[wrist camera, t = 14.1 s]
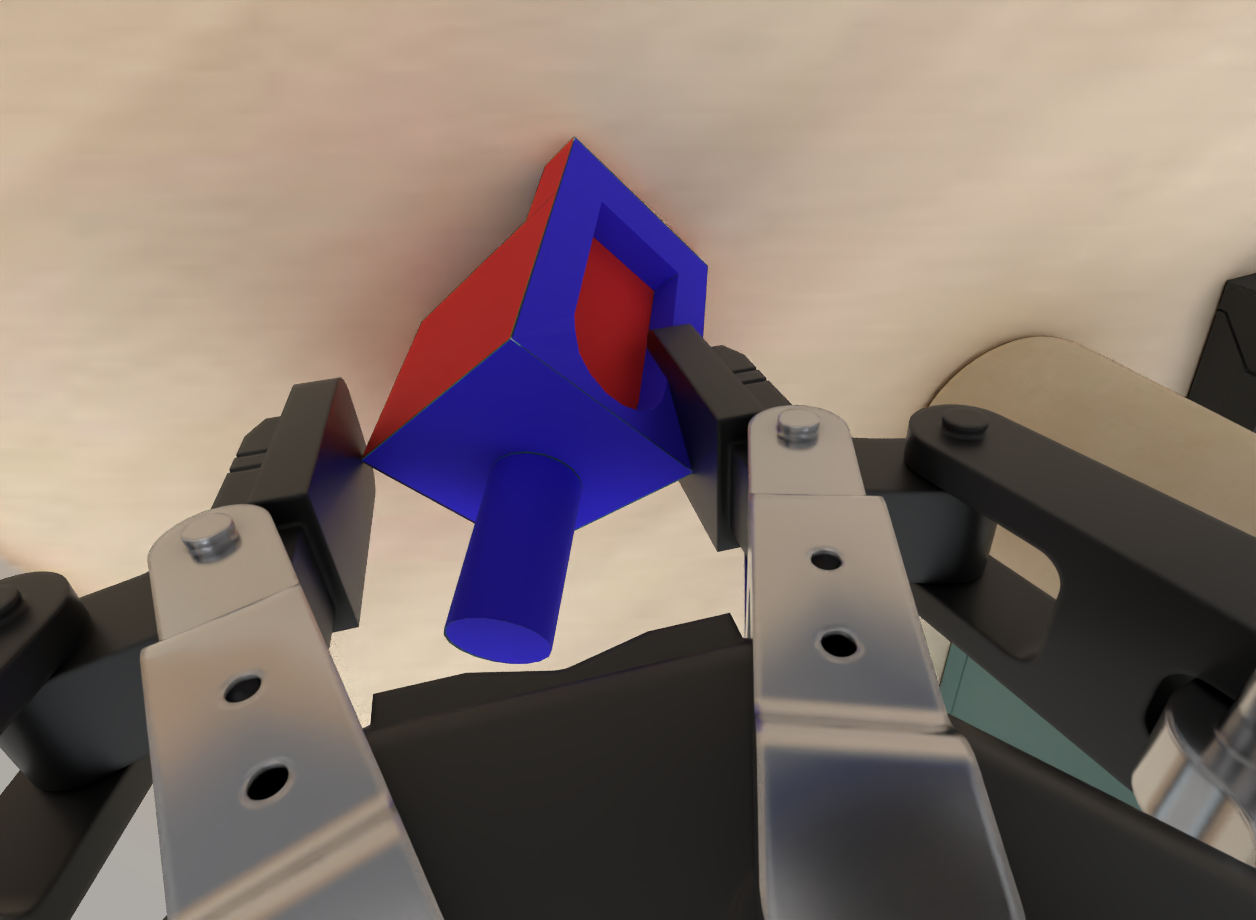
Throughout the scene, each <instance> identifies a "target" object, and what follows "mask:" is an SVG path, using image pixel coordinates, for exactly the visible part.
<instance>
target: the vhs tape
mask: <svg viewBox="0 0 1256 920" xmlns="http://www.w3.org/2000/svg"><path fill="white" fill-rule="evenodd" d="M1219 308H1220V309H1222V310H1220V311H1217V314H1216V317H1215V320H1214V323H1213V326H1212V329H1211V332H1210V335H1209V338H1208V340H1207V343H1206V346H1205V349H1204V352H1203V355H1202V358H1201V361H1200V364H1199V367H1198V370H1197V373H1196V376H1195V379H1194V382H1193V385H1192V388H1191V391H1190V394H1189V397H1188V399H1189V400H1191V401H1193V402H1195V403H1197V404H1199V405H1201V406H1203V407H1205V408H1207V409H1209V410H1211V411H1213V412H1215V413H1217V414H1219V415H1220V416H1222V417H1224V418H1226V419H1228V420H1230V421H1232V422H1234V423H1236V424H1238V425H1240V426H1242V427H1244V428H1246V429H1248V430H1250V431H1252V432H1254V433H1256V274H1253V275H1250V276H1246V277H1242V278H1238V279H1234V280H1230V281H1228V282H1227V284H1226V287H1225V290H1224V293H1223V296H1222V299H1221V302H1220V305H1219Z"/></svg>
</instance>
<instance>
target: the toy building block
mask: <svg viewBox="0 0 1256 920" xmlns="http://www.w3.org/2000/svg"><path fill="white" fill-rule="evenodd" d="M707 272H708V266H707V265H706V264H705V263H704V262H703V261H702V260H701V259H700V258H699V257H698V256H697V255H696V254H695V253H694V252H693V251H692V250H691V249H690V248H689V247H688V246H687V245H686V244H685V243H684V242H683V241H682V240H681V239H680V238H679V237H678V236H677V235H676V234H675V233H674V232H673V231H671V230H670V229H669V228H668V227H667V226H666V225H665V224H664V223H663V222H662V221H661V220H660V219H659V218H658V217H657V216H656V215H655V214H654V213H653V212H652V211H651V210H650V209H649V208H648V207H647V206H646V205H645V204H644V203H643V202H642V201H641V200H640V199H639V198H638V197H637V196H635V195H634V194H633V193H632V192H631V191H630V190H629V189H628V188H627V187H626V186H625V185H624V184H623V183H622V182H621V181H620V180H619V179H618V178H617V177H616V176H615V175H614V174H613V173H612V172H611V171H610V170H609V169H608V168H607V167H606V166H605V165H604V164H603V163H602V162H601V161H599V160H598V159H597V158H596V157H595V156H594V155H593V154H592V153H591V152H590V151H589V150H588V149H587V148H586V147H585V146H584V145H583V144H582V143H581V142H580V141H579V140H578V139H577V138H576V137H575V136H574V137H573V138H572V139H571V140H570V141H569V142H568V143H567V144H566V145H565V146H564V147H563V148H562V149H561V150H560V151H559V152H558V153H557V154H556V155H555V156H554V157H553V158H552V159H551V161H550V162H549V163H548V164H547V165H546V166H545V168H544V170H543V173H542V176H541V179H540V182H539V185H538V188H537V190H536V193H535V196H534V199H533V202H532V205H531V207H530V210H529V213H528V216H527V219H526V221H525V222H524V223H523V224H522V225H521V226H520V227H519V228H518V229H517V230H516V231H515V232H514V233H513V234H512V235H511V236H510V237H509V238H508V239H507V240H506V241H505V242H504V243H503V244H502V245H501V246H500V247H499V248H497V249H496V250H495V251H494V252H493V253H492V254H491V255H490V256H489V257H488V258H487V259H486V260H485V261H484V262H483V263H482V264H481V265H480V266H479V267H478V268H477V269H476V270H475V271H474V272H473V273H472V274H471V275H470V276H469V277H468V278H466V279H465V280H464V281H463V282H462V283H461V284H460V285H459V286H458V287H457V288H456V289H455V290H454V291H453V292H452V293H451V294H450V295H449V296H448V297H447V298H446V299H445V300H444V301H443V302H442V303H441V304H440V305H439V306H438V307H437V308H435V309H434V310H433V311H432V312H431V313H430V314H429V315H428V316H427V317H426V318H425V319H424V320H423V321H422V322H421V324H420V327H419V329H418V331H417V333H416V336H415V338H414V340H413V342H412V345H411V347H410V349H409V352H408V354H407V356H406V358H405V361H404V363H403V365H402V367H401V370H400V372H399V374H398V376H397V379H396V381H395V383H394V385H393V388H392V390H391V392H390V395H389V397H388V399H387V401H386V404H385V406H384V408H383V410H382V413H381V415H380V417H379V419H378V422H377V424H376V426H375V428H374V431H373V433H372V435H371V438H370V440H369V442H368V444H367V447H366V449H365V451H364V453H363V456H362V461H363V463H365V464H367V465H368V466H370V467H372V468H374V469H376V470H378V471H379V472H381V473H383V474H385V475H387V476H389V477H390V478H392V479H394V480H396V481H398V482H400V483H401V484H403V485H405V486H407V487H409V488H411V489H412V490H414V491H416V492H418V493H420V494H422V495H423V496H425V497H427V498H429V499H431V500H433V501H434V502H436V503H438V504H440V505H442V506H444V507H445V508H447V509H449V510H451V511H453V512H455V513H456V514H458V515H460V516H462V517H464V518H466V519H467V520H469V521H471V522H473V523H475V525H474V529H473V532H472V535H471V539H470V542H469V546H468V549H467V553H466V556H465V559H464V563H463V566H462V570H461V573H460V576H459V580H458V583H457V587H456V590H455V593H454V597H453V600H452V604H451V607H450V611H449V614H448V617H447V621H446V624H445V628H444V636H445V637H446V639H447V640H448V641H449V643H451V644H452V645H454V646H455V647H456V648H458V649H459V650H461V651H463V652H466V653H468V654H470V655H473V656H475V657H479V658H482V659H486V660H490V661H494V662H502V663H509V664H528V663H533V662H539V661H541V660H543V659H545V658H547V657H549V655H550V653H551V650H552V646H553V641H554V635H555V630H556V625H557V620H558V614H559V609H560V604H561V598H562V593H563V588H564V582H565V577H566V572H567V566H568V561H569V556H570V550H571V545H572V540H573V534H574V531H575V530H577V529H579V528H581V527H583V526H585V525H588V524H590V523H592V522H594V521H596V520H598V519H600V518H602V517H604V516H606V515H608V514H610V513H612V512H614V511H616V510H618V509H620V508H623V507H625V506H627V505H629V504H631V503H633V502H635V501H637V500H639V499H641V498H643V497H645V496H647V495H649V494H651V493H653V492H656V491H658V490H660V489H662V488H664V487H666V486H668V485H670V484H672V483H674V482H676V481H678V480H680V479H682V478H684V477H686V476H689V475H691V474H692V469H691V465H690V462H689V458H688V454H687V451H686V447H685V443H684V440H683V436H682V432H681V428H680V425H679V421H678V417H677V414H676V410H675V406H674V403H673V399H672V395H671V392H670V388H669V384H668V381H667V378H666V377H665V375H664V374H663V372H662V371H661V369H660V368H659V366H658V365H657V363H656V362H655V360H654V359H653V357H652V355H651V354H650V352H649V351H648V349H647V334H648V331H649V330H651V329H657V328H664V327H670V326H677V325H683V324H691V325H692V326H693V327H694V328H695V330H696V331H697V332H698V333H699V334H700V335H701V336H702V338H703V330H704V316H705V301H706V286H707Z"/></svg>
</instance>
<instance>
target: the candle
mask: <svg viewBox="0 0 1256 920" xmlns="http://www.w3.org/2000/svg"><path fill="white" fill-rule="evenodd" d="M943 404H958V405H968V406H974V407H978V408H983V409H986V410H989V411H992V412H995V413H997V414H999V415H1002V416H1004V417H1006V418H1008V419H1010V420H1012V421H1014V422H1016V423H1018V424H1020V425H1022V426H1025V427H1027V428H1029V429H1031V430H1033V431H1035V432H1037V433H1039V434H1041V435H1043V436H1045V437H1048V438H1050V439H1052V440H1054V441H1056V442H1058V443H1060V444H1062V445H1064V446H1066V447H1068V448H1070V449H1073V450H1075V451H1077V452H1079V453H1081V454H1083V455H1085V456H1087V457H1089V458H1091V459H1093V460H1096V461H1098V462H1100V463H1102V464H1104V465H1106V466H1108V467H1110V468H1112V469H1114V470H1116V471H1118V472H1121V473H1123V474H1125V475H1127V476H1129V477H1131V478H1133V479H1135V480H1137V481H1139V482H1141V483H1143V484H1146V485H1148V486H1150V487H1152V488H1154V489H1156V490H1158V491H1160V492H1162V493H1164V494H1166V495H1169V496H1171V497H1173V498H1175V499H1177V500H1179V501H1181V502H1183V503H1185V504H1187V505H1189V506H1191V507H1194V508H1196V509H1198V510H1200V511H1202V512H1204V513H1206V514H1208V515H1210V516H1212V517H1214V518H1217V519H1219V520H1221V521H1223V522H1225V523H1227V524H1229V525H1231V526H1233V527H1235V528H1237V529H1239V530H1242V531H1244V532H1246V533H1248V534H1250V535H1252V536H1254V537H1256V433H1254V432H1252V431H1250V430H1248V429H1246V428H1244V427H1242V426H1240V425H1238V424H1236V423H1234V422H1232V421H1230V420H1228V419H1226V418H1224V417H1222V416H1220V415H1219V414H1217V413H1215V412H1213V411H1211V410H1209V409H1207V408H1205V407H1203V406H1201V405H1199V404H1197V403H1195V402H1193V401H1191V400H1189V399H1187V398H1185V397H1183V396H1181V395H1179V394H1177V393H1175V392H1173V391H1171V390H1169V389H1168V388H1166V387H1164V386H1162V385H1160V384H1158V383H1156V382H1154V381H1152V380H1150V379H1148V378H1146V377H1144V376H1142V375H1140V374H1138V373H1136V372H1134V371H1132V370H1130V369H1128V368H1126V367H1124V366H1122V365H1120V364H1118V363H1117V362H1115V361H1113V360H1111V359H1109V358H1107V357H1105V356H1102V355H1100V354H1098V353H1096V352H1094V351H1092V350H1090V349H1088V348H1086V347H1084V346H1081V345H1079V344H1076V343H1074V342H1071V341H1067V340H1064V339H1060V338H1055V337H1044V336H1038V337H1029V338H1024V339H1019V340H1015V341H1012V342H1009V343H1007V344H1004V345H1001V346H999V347H997V348H995V349H993V350H991V351H989V352H987V353H985V354H983V355H982V356H980V357H979V358H977V359H975V360H974V361H972V362H971V363H970V364H968V365H967V366H966V367H964V368H963V369H962V370H961V371H960V372H958V373H957V374H956V375H955V376H954V377H953V378H952V379H951V380H950V381H949V382H948V383H947V384H946V385H945V386H944V387H943V388H942V389H941V390H940V392H939V393H938V394H937V396H936V397H935V398H934V399H933V401H932V402H931V403H930V405H929V407H930V406H935V405H943ZM989 555H991V556H992V557H994V558H995V559H997V560H998V561H1000V562H1001V563H1003V564H1004V565H1006V566H1007V567H1009V568H1010V569H1012V570H1013V571H1014V572H1016V573H1017V574H1019V575H1020V576H1022V577H1023V578H1025V579H1026V580H1028V581H1029V582H1031V583H1032V584H1034V585H1035V586H1037V587H1038V588H1040V589H1041V590H1043V591H1044V592H1046V593H1047V594H1049V595H1050V596H1052V597H1053V598H1055V599H1057V596H1058V594H1059V590H1060V579H1059V575H1058V572H1057V570H1056V568H1055V566H1054V565H1053V563H1052V562H1051V560H1050V559H1049V558H1048V557H1047V556H1046V555H1045V554H1044V553H1042V552H1041V551H1040V550H1038V549H1037V548H1035V547H1033V546H1032V545H1030V544H1029V543H1027V542H1025V541H1024V540H1022V539H1021V538H1019V537H1017V536H1016V535H1014V534H1013V533H1011V532H1009V531H1008V530H1006V529H1005V528H1003V527H1001V526H1000V525H998V524H997V528H996V531H995V535H994V539H993V542H992V546H991V550H990V553H989Z"/></svg>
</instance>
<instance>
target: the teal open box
mask: <svg viewBox="0 0 1256 920" xmlns="http://www.w3.org/2000/svg"><path fill="white" fill-rule="evenodd" d="M940 691H941V695H942V698H943V702H944V705H945V709H946V712H947V713H949V714H951V715H953V716H955V717H957V718H959V719H961V720H963V721H965V722H967V723H969V724H971V725H972V726H974V727H976V728H978V729H980V730H982V731H984V732H986V733H988V734H990V735H992V736H994V737H996V738H998V739H1000V740H1002V741H1004V742H1006V743H1008V744H1010V745H1012V746H1014V747H1016V748H1018V749H1020V750H1022V751H1024V752H1026V753H1028V754H1030V755H1032V756H1034V757H1036V758H1038V759H1040V760H1042V761H1044V762H1046V763H1048V764H1050V765H1052V766H1054V767H1056V768H1058V769H1060V770H1062V771H1064V772H1066V773H1068V774H1070V775H1072V776H1074V777H1076V778H1078V779H1080V780H1082V781H1083V782H1085V783H1087V784H1089V785H1091V786H1093V787H1095V788H1097V789H1099V790H1101V791H1103V792H1105V793H1107V794H1109V795H1111V796H1113V797H1115V798H1117V799H1119V800H1121V801H1123V802H1125V803H1127V804H1129V805H1131V806H1133V807H1135V808H1137V809H1139V810H1141V811H1142V809H1141V808H1140V806H1139V805H1138V802H1137V800H1136V798H1135V795H1134V793H1133V792H1131V791H1130V790H1129V789H1128V788H1127V787H1125V786H1124V785H1123V784H1122V783H1120V782H1119V781H1118V780H1117V779H1116V778H1114V777H1113V776H1112V775H1111V774H1110V773H1108V772H1107V771H1106V770H1105V769H1104V768H1102V767H1101V766H1100V765H1099V764H1098V763H1096V762H1095V761H1094V760H1093V759H1092V758H1090V757H1089V756H1088V755H1087V754H1086V753H1084V752H1083V751H1082V750H1081V749H1080V748H1078V747H1077V746H1076V745H1075V744H1073V743H1072V742H1071V741H1070V740H1069V739H1067V738H1066V737H1065V736H1064V735H1063V734H1061V733H1060V732H1059V731H1058V730H1057V729H1055V728H1054V727H1053V726H1052V725H1051V724H1049V723H1048V722H1047V721H1046V720H1045V719H1043V718H1042V717H1041V716H1040V715H1039V714H1037V713H1036V712H1035V711H1034V710H1032V709H1031V708H1030V707H1029V706H1028V705H1026V704H1025V703H1024V702H1023V701H1022V700H1020V699H1019V698H1018V697H1017V696H1016V695H1014V694H1013V693H1012V692H1011V691H1010V690H1008V689H1007V688H1006V687H1005V686H1004V685H1002V684H1001V683H1000V682H999V681H998V680H996V679H995V678H994V677H993V676H992V675H990V674H989V673H988V672H987V671H985V670H984V669H983V668H982V667H981V666H979V665H978V664H977V663H976V662H975V661H973V660H972V659H971V658H970V657H969V656H967V655H966V654H965V653H964V652H963V651H961V650H960V649H959V648H958V647H957V646H955V645H954V644H953V643H952V644H951V647H950V651H949V655H948V659H947V662H946V666H945V670H944V674H943V677H942V681H941V685H940Z"/></svg>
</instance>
